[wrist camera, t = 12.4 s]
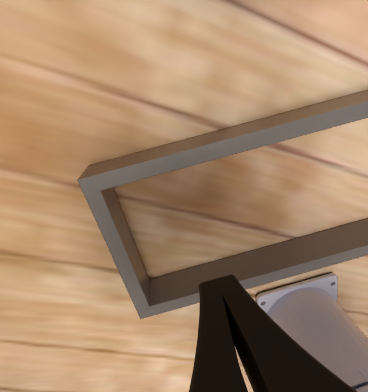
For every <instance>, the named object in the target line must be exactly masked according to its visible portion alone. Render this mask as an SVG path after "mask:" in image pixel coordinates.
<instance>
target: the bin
mask: <svg viewBox="0 0 368 392" xmlns="http://www.w3.org/2000/svg"><path fill="white" fill-rule="evenodd" d="M365 118H368V90H365V91H362V92H358V93H354V94H351V95H347V96H343V97H340V98H336V99H332V100H329V101H325V102H321V103H318V104H314V105H310V106H306V107H303V108H299V109H295V110H292V111H288V112H284V113H281V114H277V115H273V116H270V117H266V118H262V119H259V120H255V121H251V122H247V123H244V124H240V125H236V126H233V127H229V128H225V129H222V130H218V131H214V132H211V133H207V134H203V135H200V136H196V137H192V138H188V139H185V140H181V141H177V142H174V143H170V144H166V145H163V146H159V147H155V148H152V149H148V150H144V151H141V152H137V153H133V154H130V155H126V156H122V157H118V158H115V159H111V160H107V161H104V162H100V163H96V164H93V165H89V166H88V167H87V169H86V170H85V171H84V172H83V174H82V175H81V176H80V177H79V179H78V182H79V184H80V187H81V189H82V191H83V193H84V195H85V198H86V200H87V202H88V204H89V206H90V209H91V211H92V213H93V215H94V218H95V220H96V222H97V224H98V226H99V229H100V231H101V233H102V235H103V237H104V240H105V242H106V244H107V246H108V248H109V251H110V253H111V255H112V257H113V259H114V262H115V264H116V266H117V268H118V271H119V273H120V275H121V277H122V279H123V282H124V284H125V286H126V288H127V290H128V293H129V295H130V297H131V299H132V301H133V304H134V306H135V308H136V310H137V312H138V315H139V317H140V319H143V318H146V317H150V316H153V315H157V314H160V313H164V312H167V311H171V310H174V309H178V308H182V307H185V306H189V305H192V304H196V303H199V302H200V295H199V287H198V286H199V284H200V283H202V282H206V281H209V280H213V279H216V278H220V277H223V276H227V275H231V274H232V275H234V276H235V277H236V278H237V280H238V281H239V282H240V284H241V285H242V286H243V288H244V289H249V288H252V287H256V286H259V285H263V284H267V283H270V282H274V281H277V280H281V279H284V278H288V277H291V276H295V275H298V274H302V273H306V272H309V271H313V270H316V269H320V268H323V267H327V266H330V265H334V264H337V263H341V262H344V261H348V260H352V259H355V258H359V257H362V256H366V255H368V218H367V219H363V220H360V221H356V222H353V223H349V224H345V225H342V226H338V227H335V228H331V229H328V230H324V231H320V232H317V233H313V234H310V235H306V236H303V237H299V238H295V239H292V240H288V241H285V242H281V243H278V244H274V245H270V246H267V247H263V248H260V249H256V250H252V251H249V252H245V253H242V254H238V255H235V256H231V257H227V258H224V259H220V260H217V261H213V262H210V263H206V264H202V265H199V266H195V267H192V268H188V269H185V270H181V271H177V272H174V273H170V274H167V275H163V276H160V277H156V278H152V279H149V278H148V275H147V272H146V270H145V267H144V265H143V262H142V260H141V257H140V255H139V252H138V250H137V247H136V244H135V242H134V239H133V237H132V234H131V232H130V229H129V227H128V224H127V222H126V219H125V217H124V214H123V211H122V209H121V206H120V204H119V201H118V199H117V196H116V194H115V191H114V189H113V187H116V186H119V185H123V184H127V183H130V182H134V181H138V180H141V179H145V178H149V177H152V176H156V175H160V174H163V173H167V172H171V171H174V170H178V169H182V168H185V167H189V166H193V165H196V164H200V163H204V162H207V161H211V160H215V159H218V158H222V157H226V156H229V155H233V154H237V153H240V152H244V151H248V150H251V149H255V148H259V147H262V146H266V145H270V144H273V143H277V142H281V141H284V140H288V139H292V138H295V137H299V136H303V135H306V134H310V133H314V132H317V131H321V130H324V129H328V128H332V127H335V126H339V125H343V124H346V123H350V122H354V121H357V120H361V119H365Z"/></svg>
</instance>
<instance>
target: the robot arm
mask: <svg viewBox="0 0 368 392" xmlns="http://www.w3.org/2000/svg"><path fill="white" fill-rule="evenodd" d="M337 286H338V277H337V276H336V275H335V274H334V273H330V274H327V275H323V276H320V277H316V278H313V279H309V280H305V281H302V282H298V283H295V284H291V285H288V286H284V287H281V288H277V289H274V290H270V291H267V292H263V293H260V294H258V295H257V297H256V300H257V303H256V302H255V301H254V299H253V298H252V297H251V296H250V295H249V294H248V293H247V291H246V290H245V289H244V288H243V286H242V285H241V284H240V282H239V281H238V280H237V278H236V277H235V276H234V275H232V274H231V275H227V276H223V277H220V278H216V279H213V280H209V281H206V282H202V283H200V284H199V286H198V287H199V295H200V316H199V329H198V340H197V347H196V354H195V361H194V368H193V374H192V379H191V385H190V390H189V392H248V391H247V388H246V385H245V382H244V379H243V376H242V373H241V370H240V367H239V363H238V359H237V355H236V350H237V352H238V355H239V357H240V359H241V362H242V364H243V367H244V369H245V372H246V374H247V376H248V379H249V381H250V384H251V386H252V389H253V391H254V392H368V338H367V337H366V336H365V335H364V333H363V332H362V331H361V330H360V329H359V328H358V326H357V325H356V324H355V323H354V322H353V321H352V320H351V318H350V317H349V316H348V315H347V314H346V313H345V312H344V310H343V309H342V308H341V307H340V306H339V305H338V303H337ZM234 345H235V346H234ZM235 347H236V350H235Z"/></svg>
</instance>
